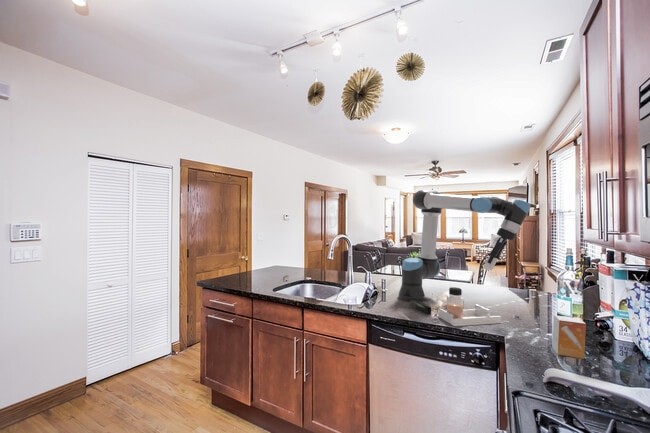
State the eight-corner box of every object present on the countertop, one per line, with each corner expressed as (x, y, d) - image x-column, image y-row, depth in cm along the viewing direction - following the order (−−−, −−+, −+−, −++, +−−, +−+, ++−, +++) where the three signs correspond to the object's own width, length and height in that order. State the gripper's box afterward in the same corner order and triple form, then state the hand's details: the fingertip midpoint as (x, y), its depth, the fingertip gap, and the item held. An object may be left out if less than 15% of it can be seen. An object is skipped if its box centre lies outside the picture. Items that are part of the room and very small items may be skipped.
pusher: (474, 314, 151) (475, 304, 151) (482, 314, 152) (482, 304, 152) (487, 320, 142) (487, 310, 142) (495, 320, 143) (495, 309, 143)
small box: (557, 355, 112) (558, 319, 111) (551, 348, 118) (553, 314, 117) (584, 359, 109) (586, 323, 108) (577, 352, 115) (579, 317, 114)
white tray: (436, 317, 149) (436, 307, 149) (481, 314, 155) (481, 304, 155) (454, 328, 136) (454, 317, 135) (502, 324, 141) (503, 314, 141)
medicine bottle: (463, 313, 156) (464, 290, 156) (448, 312, 158) (449, 289, 158) (460, 308, 163) (461, 286, 163) (446, 307, 165) (446, 285, 164)
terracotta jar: (443, 317, 146) (443, 303, 146) (456, 316, 148) (456, 302, 148) (452, 322, 139) (452, 307, 139) (465, 322, 141) (466, 307, 141)
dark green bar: (432, 306, 151) (410, 297, 164) (428, 307, 150) (406, 298, 163) (432, 316, 151) (410, 306, 165) (427, 317, 150) (406, 307, 163)
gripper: (515, 231, 135) (492, 273, 138) (517, 235, 156) (497, 272, 158) (497, 224, 139) (475, 265, 142) (502, 229, 160) (483, 265, 163)
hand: (487, 269), depth 150 cm, fingers open, 13 cm apart
